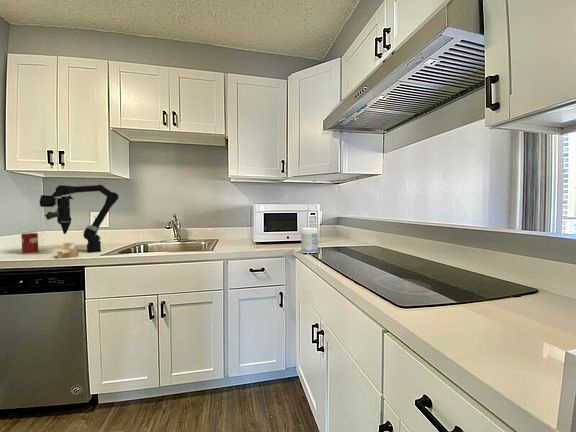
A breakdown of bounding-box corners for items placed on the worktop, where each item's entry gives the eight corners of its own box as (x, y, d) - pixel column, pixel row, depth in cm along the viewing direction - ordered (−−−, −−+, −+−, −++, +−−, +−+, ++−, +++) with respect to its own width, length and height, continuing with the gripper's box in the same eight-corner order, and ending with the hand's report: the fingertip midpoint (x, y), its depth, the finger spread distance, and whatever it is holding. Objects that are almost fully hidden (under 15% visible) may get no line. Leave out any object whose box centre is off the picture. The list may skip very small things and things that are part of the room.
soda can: (19, 254, 161) (18, 234, 161) (27, 252, 168) (26, 232, 168) (34, 253, 163) (33, 233, 163) (41, 251, 170) (40, 232, 170)
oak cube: (73, 251, 158) (73, 242, 158) (74, 252, 154) (73, 243, 154) (62, 252, 155) (61, 243, 155) (62, 253, 151) (62, 244, 151)
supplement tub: (315, 255, 156) (315, 229, 156) (299, 254, 159) (299, 228, 159) (319, 252, 165) (319, 227, 165) (303, 251, 168) (303, 227, 168)
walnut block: (77, 255, 161) (77, 250, 161) (78, 257, 154) (78, 252, 154) (57, 257, 155) (57, 252, 155) (57, 259, 148) (57, 254, 148)
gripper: (46, 206, 165) (47, 233, 166) (44, 207, 151) (46, 235, 152) (69, 206, 173) (70, 231, 173) (70, 206, 158) (71, 234, 159)
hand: (64, 233), depth 164 cm, fingers open, 9 cm apart
